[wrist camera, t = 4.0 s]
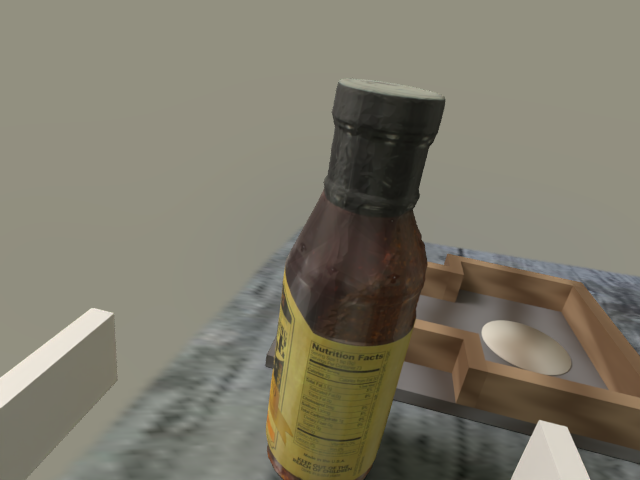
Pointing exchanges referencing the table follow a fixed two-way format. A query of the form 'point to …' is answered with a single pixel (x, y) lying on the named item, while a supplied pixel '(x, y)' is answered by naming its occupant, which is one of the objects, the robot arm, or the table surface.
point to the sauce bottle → (352, 287)
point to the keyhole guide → (521, 356)
